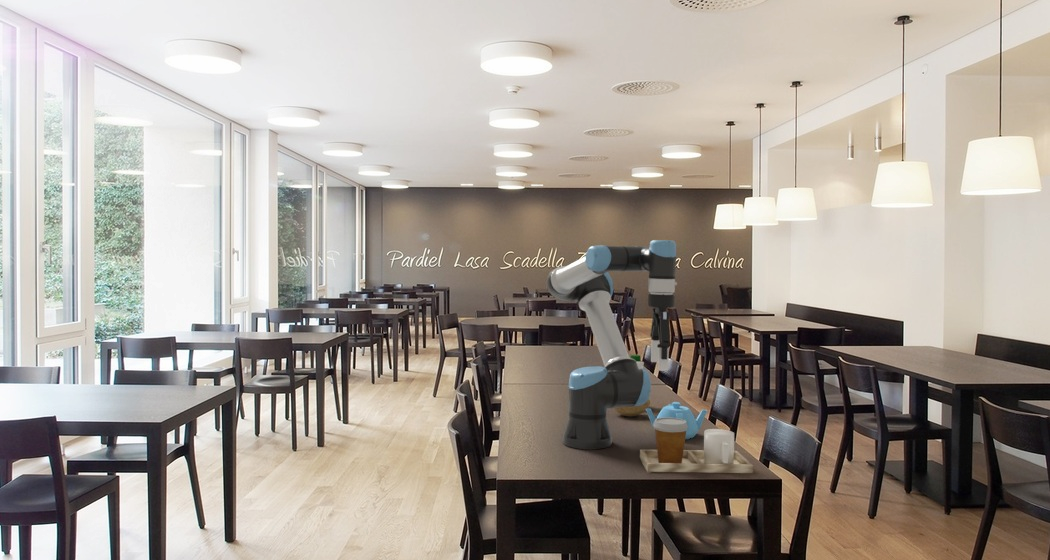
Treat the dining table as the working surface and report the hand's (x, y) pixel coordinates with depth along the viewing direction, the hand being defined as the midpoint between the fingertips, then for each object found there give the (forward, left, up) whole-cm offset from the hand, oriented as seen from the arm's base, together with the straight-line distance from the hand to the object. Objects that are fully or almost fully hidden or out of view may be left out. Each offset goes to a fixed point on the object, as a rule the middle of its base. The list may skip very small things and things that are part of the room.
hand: (659, 366), depth 195 cm
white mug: (+15, -11, -26) cm, 32 cm away
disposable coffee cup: (+2, -9, -26) cm, 28 cm away
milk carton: (+1, +69, -27) cm, 74 cm away
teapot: (+10, +25, -27) cm, 38 cm away
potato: (-1, +52, -27) cm, 58 cm away
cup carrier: (+8, -10, -26) cm, 29 cm away
